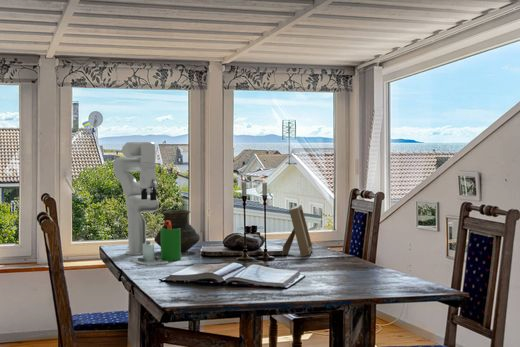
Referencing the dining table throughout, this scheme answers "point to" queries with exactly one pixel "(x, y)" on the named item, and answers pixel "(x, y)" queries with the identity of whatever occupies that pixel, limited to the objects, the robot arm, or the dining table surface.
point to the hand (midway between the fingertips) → (148, 199)
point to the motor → (170, 243)
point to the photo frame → (298, 233)
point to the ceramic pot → (187, 231)
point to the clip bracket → (154, 262)
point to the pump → (148, 251)
